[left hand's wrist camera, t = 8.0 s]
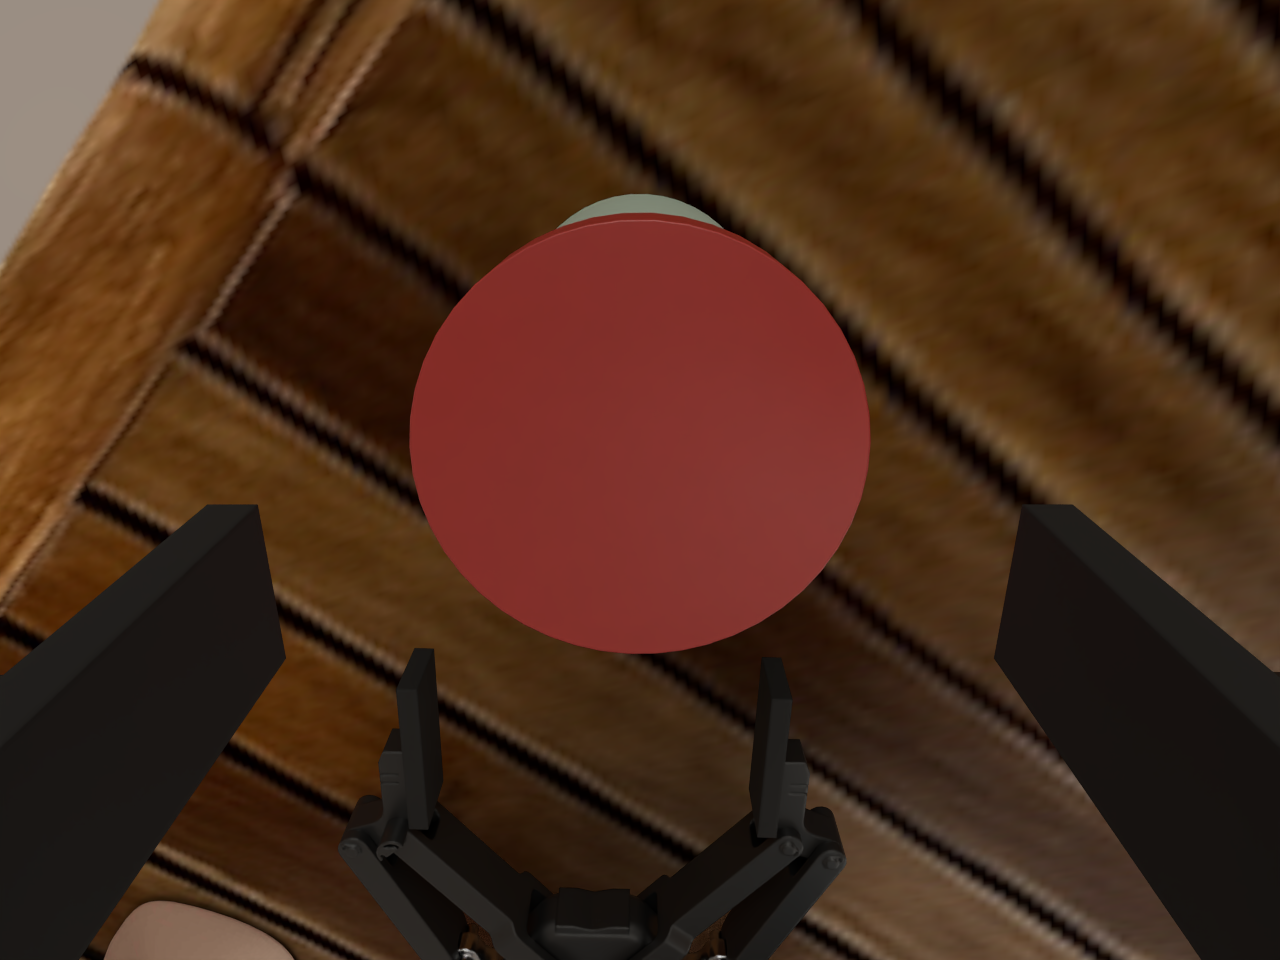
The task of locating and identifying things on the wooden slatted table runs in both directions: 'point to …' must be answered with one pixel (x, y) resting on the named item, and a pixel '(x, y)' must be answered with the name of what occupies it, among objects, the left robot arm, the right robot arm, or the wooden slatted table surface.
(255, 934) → the anatomical model
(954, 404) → the wooden slatted table surface
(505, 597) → the lid
